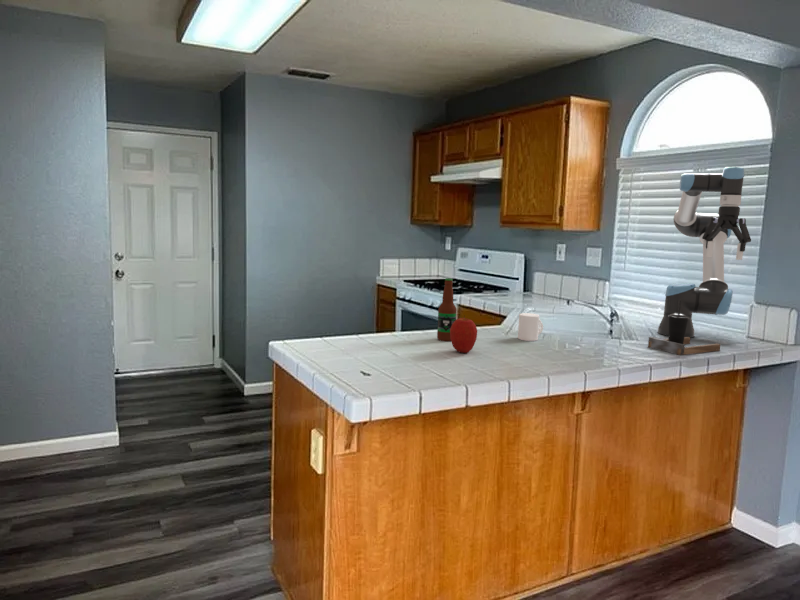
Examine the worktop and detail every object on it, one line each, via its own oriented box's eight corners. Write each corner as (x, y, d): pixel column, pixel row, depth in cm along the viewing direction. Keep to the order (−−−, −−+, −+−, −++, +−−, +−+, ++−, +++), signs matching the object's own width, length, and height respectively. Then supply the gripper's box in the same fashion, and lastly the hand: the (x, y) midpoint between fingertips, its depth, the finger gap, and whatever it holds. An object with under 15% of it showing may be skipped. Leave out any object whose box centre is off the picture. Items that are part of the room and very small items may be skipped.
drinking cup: (673, 352, 234) (679, 301, 231) (660, 347, 241) (665, 298, 238) (690, 351, 236) (695, 301, 233) (676, 347, 243) (681, 298, 241)
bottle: (435, 340, 240) (437, 279, 237) (439, 337, 247) (442, 277, 244) (452, 342, 238) (455, 280, 234) (456, 338, 245) (459, 278, 241)
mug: (515, 313, 250) (536, 312, 256) (513, 337, 251) (534, 335, 257) (529, 316, 243) (550, 315, 249) (527, 341, 244) (548, 339, 250)
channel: (647, 346, 242) (648, 337, 241) (686, 342, 253) (687, 333, 253) (680, 355, 229) (681, 345, 228) (719, 350, 240) (720, 340, 239)
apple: (443, 350, 223) (445, 313, 221) (465, 348, 228) (467, 312, 226) (459, 356, 215) (461, 318, 213) (481, 353, 220) (483, 316, 218)
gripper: (696, 205, 251) (691, 255, 254) (752, 206, 229) (746, 261, 232) (709, 205, 254) (703, 255, 258) (765, 206, 232) (758, 260, 235)
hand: (723, 258), depth 245 cm, fingers open, 13 cm apart
